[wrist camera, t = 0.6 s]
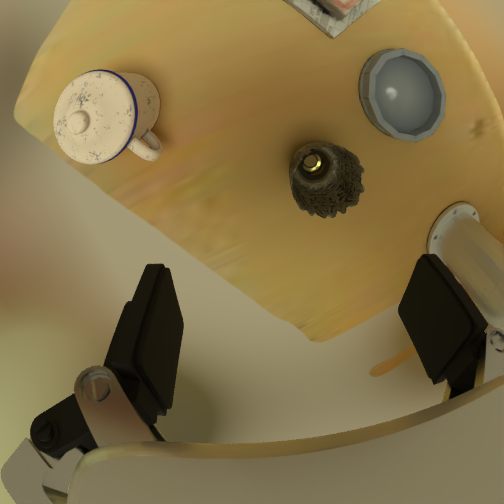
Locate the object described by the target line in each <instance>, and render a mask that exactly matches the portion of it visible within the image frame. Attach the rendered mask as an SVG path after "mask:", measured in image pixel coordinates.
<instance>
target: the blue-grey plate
mask: <svg viewBox="0 0 504 504" xmlns="http://www.w3.org/2000/svg"><path fill="white" fill-rule="evenodd" d="M359 96H360V101H361V104H362V107H363V109H364V111H365V113H366V115H367V117H368V118H369V120H370V121H371V122H372V123H373V125H375V126H376V127H377V128H378V129H379V130H380V131H382V132H383V133H385V134H387V135H389V136H392V137H394V138H396V139H401V140H406V141H412V142H418V141H420V140H422V139H424V138H426V137H429V136H431V135H433V134H434V132H435V131H436V129H437V128H438V126H439V125H440V123H441V121H442V120H443V118H444V113H445V103H446V93H445V90H444V87H443V84H442V81H441V78H440V75H439V73H438V71H437V70H436V69H435V68H434V67H433V66H432V65H431V64H430V63H429V62H428V60H427V59H426V58H425V57H424V56H423V55H420V54H417V53H415V52H412V51H409V50H406V49H403V48H401V49H389V50H383V51H380V52H378V53H376V54H374V55H373V56H372V57H370V58H369V59H368V61H367V62H366V63H365V65H364V67H363V68H362V71H361V74H360V78H359Z"/></svg>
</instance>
